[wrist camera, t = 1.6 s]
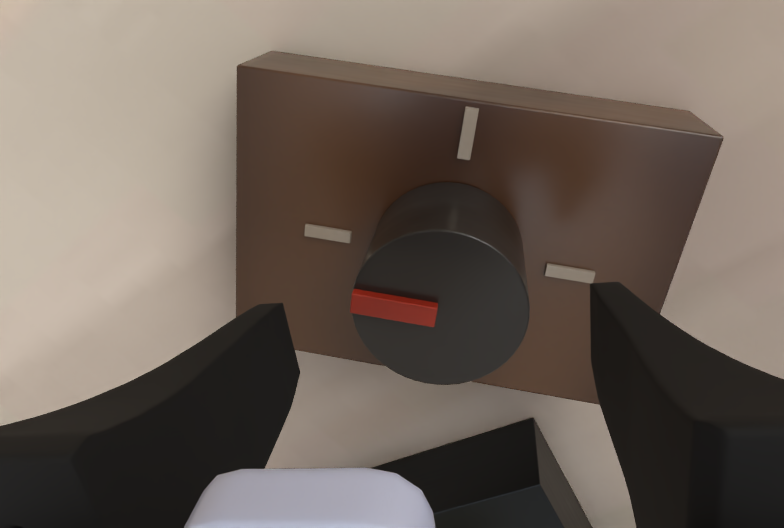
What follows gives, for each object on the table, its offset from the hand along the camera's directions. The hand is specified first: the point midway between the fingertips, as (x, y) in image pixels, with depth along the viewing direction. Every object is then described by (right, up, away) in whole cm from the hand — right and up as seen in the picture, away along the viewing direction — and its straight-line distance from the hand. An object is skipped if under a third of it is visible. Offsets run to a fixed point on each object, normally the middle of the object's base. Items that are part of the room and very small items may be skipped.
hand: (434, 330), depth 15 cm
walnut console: (+1, +3, +7) cm, 7 cm away
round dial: (+1, +2, +4) cm, 4 cm away
